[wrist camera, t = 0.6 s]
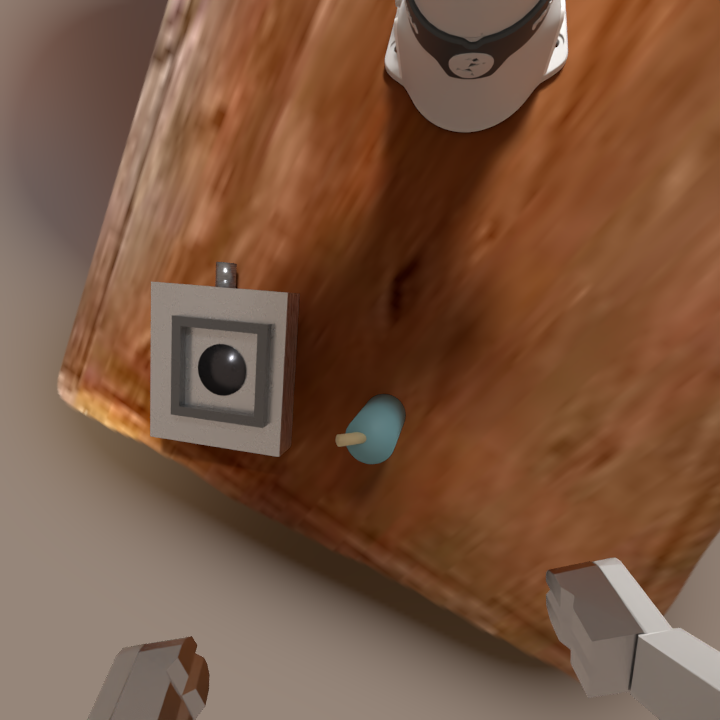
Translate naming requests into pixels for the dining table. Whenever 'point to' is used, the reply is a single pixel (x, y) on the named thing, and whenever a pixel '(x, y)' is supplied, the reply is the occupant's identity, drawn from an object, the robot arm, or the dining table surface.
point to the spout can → (374, 430)
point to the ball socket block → (223, 364)
